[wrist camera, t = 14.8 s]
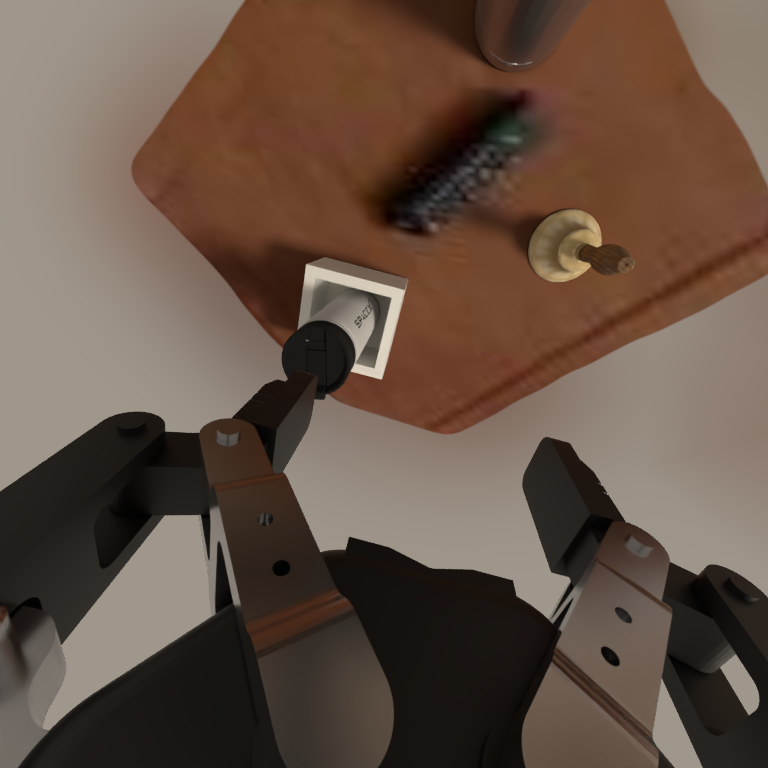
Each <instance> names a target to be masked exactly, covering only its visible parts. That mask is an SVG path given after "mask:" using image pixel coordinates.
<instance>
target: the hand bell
mask: <svg viewBox="0 0 768 768" xmlns="http://www.w3.org/2000/svg"><path fill="white" fill-rule="evenodd" d="M528 257H529V261H530V265H531V267H532V269H533V270H534V271H535V273H536V274H537V275H538V276H540V277H541V278H543V279H545V280H548V281H552V282H564V281H568V280H572V279H574V278H576V277H578V276H580V275H581V274H582V273H584V272H585V271H586V270H587V269H588V268H589V267H592V268H593V269H594V270H595V271H597V272H598V273H600V274H603V275H608V276H613V275H618V274H621V273H625V272H629V271H630V270H631V269H632V268H633V267H634V264H635V261H634V259H633V258H632V257H631V255H630V253H629V252H628V251H627V250H626V249H625V248H623V247H621V246H618V245H612V244H608V245H602V246H601V231H600V228H599V225H598V223H597V222H596V220H595V219H594V218H593V217H592V216H591V215H590V214H588V213H586V212H584V211H581V210H577V209H566V210H562V211H559V212H556V213H554V214H552V215H550V216H549V217H547V218H546V219H545V220H544V221H542V222H541V224H540V225H539V226H538V227H537V228H536V230H535V231H534V233H533V235H532V237H531V240H530V243H529V249H528Z"/></svg>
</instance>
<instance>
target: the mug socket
mask: <svg viewBox="0 0 768 768" xmlns="http://www.w3.org/2000/svg"><path fill="white" fill-rule="evenodd" d="M407 283H408V279H407V278H403V277H399V276H395V275H391V274H388V273H384V272H380V271H376V270H372V269H368V268H365V267H361V266H357V265H353V264H349V263H346V262H342V261H338V260H334V259H330V258H327V257H324V258H321V259H319V260H316V261H313V262H311V263H308V264H306V270H305V278H304V285H303V293H302V300H301V308H300V315H299V323H298V329H299V328H300V327H301V326H302V325H303V324H305V323H306V322H307V321H308V320H309V319H311V318H312V317H313V316H314V315H316V314H317V313H318V312H319V311H320V310H322V309H323V308H324V307H325V306H327V305H328V304H329V303H330V302H331V301H333V300H334V299H335V298H336V297H337V296H339V295H340V294H341V293H342V292H344V291H345V290H347V289H350V288H356V289H360V290H364V291H368V292H371V293H372V294H373V295H374V296H375V298H376V299H377V301H378V303H379V306H380V318H379V320H378V323H377V324H376V326H375V328H374V330H373V332H372V334H371V336H370V337H369V339H368V341H367V343H366V345H365V347H364V349H363V350H362V352H361V354H360V356H359V358H358V360H357V362H356V363H355V365H354V367H353V369H352V370H351V372H355V373H359V374H363V375H366V376H370V377H374V378H378V379H382V377H383V374H384V370H385V367H386V364H387V360H388V357H389V353H390V349H391V345H392V341H393V338H394V334H395V330H396V326H397V322H398V318H399V314H400V310H401V307H402V303H403V299H404V295H405V291H406V287H407Z"/></svg>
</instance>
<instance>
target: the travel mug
mask: <svg viewBox="0 0 768 768" xmlns="http://www.w3.org/2000/svg"><path fill="white" fill-rule="evenodd" d="M379 318H380V306H379V303H378V301H377V299H376V298H375V296H374V295H373V294H372V293H371V292H368V291H364V290H360V289H356V288H350V289H347V290H345V291H344V292H342V293H341V294H340V295H339V296H337V297H336V298H335V299H334V300H333V301H331V302H330V303H329V304H328V305H327V306H325V307H324V308H323V309H322V310H320V311H319V312H318V313H317V314H316V315H314V316H313V317H312V318H311V319H309V320H308V321H307V322H306V323H305V324H303V325H302V326H301V327H300V328H299V329H298V330H297V331H296V332H295V333H294V334H292V335H291V336H290V337H289V339H288V340H287V341H286V343H285V345H284V348H283V351H282V365H283V369H284V372H285V374H286V376H287V378H289V377H290V376H291V375H292V374H293V373H294V372H295V371H296V370H298V371H302V372H305V373H309V374H313V375H317V377H318V380H317V387H316V393H315V399H319V400H324V398H325V395H326V394H330V393H332V392H334V391H336V390H337V389H339V388H340V387H341V386H342V385H343V384H344V382H345V380H346V379H347V377H348V375H349V373H350V372H351V370H352V369H353V367H354V365H355V363H356V362H357V360H358V358H359V356H360V354H361V352H362V350H363V349H364V347H365V345H366V343H367V341H368V339H369V337H370V336H371V334H372V332H373V330H374V328H375V326H376V324H377V323H378V320H379Z"/></svg>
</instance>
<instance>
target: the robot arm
mask: <svg viewBox="0 0 768 768" xmlns="http://www.w3.org/2000/svg"><path fill="white" fill-rule="evenodd" d="M590 1H591V0H477V4H476V10H475V33H476V38H477V42H478V45H479V47H480V49H481V51H482V53H483V55H484V56H485V57H486V59H487V60H488V61H489V62H490V63H491V64H492V65H494V66H495V67H496V68H498V69H501V70H503V71H508V72H520V71H525V70H528V69H530V68H533V67H535V66H536V65H538V64H539V63H541V62H542V61H544V60H545V59H546V58H547V57H548V56H549V55H550V54H551V53H552V52H553V51H554V49H555V48H556V47H557V45H558V44H559V43H560V41H561V40H562V39H563V37H564V36H565V35H566V33H567V32H568V31H569V30H570V28H571V27H572V26H573V24H574V23H575V22H576V20H577V19H578V17H579V16H580V15H581V13H582V12H583V11H584V9H585V8H586V7H587V5H588V4H589V3H590ZM317 380H318V377H317V375H313V374H309V373H305V372H302V371H298V370H296V371H295V372H294V373H293V374H292V375H291V376H290V377H289V378H288V380H287V381H286V382H285V381H281V380H275V381H273V382H270V383H267V384H265V385H264V386H263V387H262V388H261V389H260V390H259V391H258V393H256V394H255V395H254V396H253V397H252V399H251V400H249V401H248V402H247V403H246V404H245V405H244V406H243V407H242V408H241V409H240V410H239V411H238V412H237V413H236V414H235V415H234V416H233V417H232V418H227V419H219V420H215V421H212V422H210V423H208V424H206V425H205V426H204V427H203V428H202V429H201V430H200V433H181V432H165V422H164V420H163V419H162V418H161V417H159V416H157V415H154V414H152V413H146V412H127V413H122V414H117V415H114V416H112V417H109V418H107V419H105V420H103V421H102V422H100V423H99V424H97V425H96V426H95V427H93V428H92V429H90V430H89V431H87V432H86V433H84V434H83V435H81V436H80V437H79V438H77V439H76V440H74V441H73V442H71V443H70V444H68V445H67V446H66V447H64V448H63V449H61V450H60V451H58V452H57V453H55V454H54V455H53V456H51V457H50V458H48V459H47V460H45V461H44V462H42V463H41V464H39V465H38V466H37V467H35V468H34V469H32V470H31V471H29V472H28V473H26V474H25V475H23V476H22V477H21V478H19V479H18V480H16V481H15V482H13V483H12V484H11V485H9V486H8V487H6V488H5V489H3V490H2V491H0V768H674V766H673V765H672V764H671V763H670V762H669V760H668V759H667V758H666V757H665V756H664V754H663V753H662V752H661V751H660V750H659V749H658V747H657V746H656V745H655V743H654V741H653V727H654V721H655V715H656V709H657V703H658V697H659V691H660V685H661V679H663V682H664V684H665V686H666V688H667V690H668V692H669V695H670V697H671V699H672V701H673V703H674V706H675V708H676V710H677V712H678V714H679V717H680V719H681V721H682V723H683V725H684V727H685V730H686V732H687V734H688V736H689V738H690V741H691V743H692V745H693V747H694V749H695V751H696V754H697V756H698V758H699V760H700V762H701V765H702V767H703V768H768V597H767V596H766V595H765V594H764V593H763V592H762V591H761V590H759V589H758V588H757V587H756V586H755V585H753V584H752V583H751V582H749V581H748V580H747V579H745V578H744V577H742V576H741V575H739V574H737V573H735V572H734V571H732V570H729V569H727V568H725V567H722V566H719V565H708V566H707V567H706V568H705V569H704V570H703V571H702V572H701V573H700V574H699V575H696V574H694V573H692V572H690V571H688V570H686V569H684V568H681V567H679V566H677V565H675V564H673V563H671V562H670V558H669V555H668V553H667V552H666V550H665V548H664V547H663V546H662V545H661V544H660V543H659V542H658V541H657V540H656V539H655V538H654V537H653V536H651V535H650V534H649V533H647V532H646V531H644V530H643V529H641V528H639V527H637V526H635V525H632V524H630V523H627V522H625V520H624V518H623V517H622V515H621V514H620V512H619V511H618V509H617V508H616V506H615V504H614V503H613V501H612V500H611V498H610V497H609V495H607V492H606V490H605V489H604V487H603V486H601V483H600V481H599V479H598V478H597V476H596V475H595V473H594V472H593V471H592V470H591V469H590V468H589V467H588V466H587V465H586V464H584V463H583V462H582V461H581V460H580V459H579V457H578V456H577V454H576V452H575V451H574V449H573V448H572V446H571V445H570V443H568V442H564V441H560V440H557V439H553V438H549V437H545V438H543V440H542V441H541V442H540V444H539V446H538V448H537V450H536V452H535V453H534V455H533V457H532V459H531V461H530V463H529V465H528V467H527V469H526V471H525V473H524V476H523V484H522V485H523V491H524V494H525V496H526V500H527V503H528V506H529V509H530V511H531V514H532V517H533V520H534V523H535V526H536V529H537V532H538V535H539V538H540V541H541V544H542V547H543V550H544V552H545V556H546V558H547V561H548V564H549V567H550V570H551V572H552V573H556V574H559V575H564V576H567V577H569V578H570V580H571V581H570V583H569V584H568V585H567V587H566V588H565V590H564V592H563V593H562V595H561V597H560V599H559V601H558V603H557V604H556V606H555V608H554V610H553V612H552V614H551V615H550V617H549V619H547V618H546V617H545V616H544V615H543V614H542V613H541V612H539V611H538V610H537V609H535V608H534V607H533V606H531V605H530V604H528V603H527V602H525V601H524V600H522V599H520V598H518V597H517V596H516V592H515V587H514V583H513V580H509V579H505V578H501V577H498V576H494V575H490V574H487V573H483V572H479V571H476V570H463V569H432V568H429V567H427V566H425V565H423V564H421V563H419V562H417V561H415V560H413V559H411V558H409V557H407V556H405V555H403V554H401V553H399V552H397V551H395V550H393V549H391V548H389V547H386V546H382V545H378V544H375V543H371V542H367V541H363V540H359V539H356V538H352V537H349V539H348V544H347V547H346V550H329V551H324V552H320V550H319V548H318V546H317V544H316V541H315V539H314V537H313V535H312V532H311V530H310V528H309V525H308V523H307V521H306V519H305V516H304V514H303V512H302V510H301V507H300V505H299V503H298V501H297V498H296V496H295V494H294V492H293V489H292V487H291V485H290V483H289V480H288V478H287V476H286V475H285V474H284V473H283V471H284V469H285V467H286V465H287V464H288V462H289V460H290V459H291V457H292V455H293V453H294V452H295V450H296V448H297V446H298V445H299V443H300V441H301V440H302V437H303V436H304V434H305V433H306V431H307V429H308V426H309V423H310V420H311V416H312V410H313V405H314V399H315V393H316V387H317ZM165 515H199V522H200V528H201V533H202V540H203V547H204V553H205V558H206V565H207V571H208V581H209V597H210V607H211V614H212V617H210V618H209V619H207V620H206V621H204V622H203V623H201V624H200V625H198V626H197V627H195V628H193V629H192V630H190V631H189V632H187V633H186V634H184V635H183V636H181V637H180V638H178V639H177V640H175V641H174V642H172V643H170V644H169V645H167V646H166V647H164V648H163V649H161V650H160V651H158V652H157V653H155V654H154V655H152V656H150V657H149V658H147V659H146V660H144V661H143V662H141V663H140V664H138V665H137V666H135V667H134V668H132V669H131V670H129V671H127V672H126V673H125V674H123V675H122V676H120V677H118V678H117V679H115V680H114V681H112V682H110V683H109V684H107V685H106V686H105V687H103V688H101V689H100V690H98V691H97V692H95V693H94V694H92V695H91V696H90V697H88V698H86V699H85V700H84V701H82V702H81V703H80V704H78V705H77V706H76V707H75V708H73V709H72V710H71V711H70V712H69V713H67V714H66V715H65V716H64V717H63V718H62V719H61V720H60V721H59V722H58V723H57V724H56V725H55V726H53V727H52V728H51V730H49V731H48V730H45V729H43V728H42V727H43V723H44V720H45V716H46V714H47V711H48V709H49V707H50V705H51V703H52V702H53V700H54V698H55V696H56V695H57V693H58V691H59V689H60V688H61V685H62V683H63V680H64V677H65V673H66V661H65V657H64V653H63V650H62V646H61V645H62V644H63V642H64V641H65V640H66V639H67V637H68V636H69V635H70V634H71V632H72V631H73V630H74V628H75V627H76V626H77V625H78V624H79V622H80V621H81V620H82V619H83V617H84V616H85V615H86V614H87V612H88V611H89V609H90V608H91V607H92V606H93V605H94V603H95V602H96V601H97V600H98V598H99V597H100V596H101V595H102V593H103V592H104V591H105V590H106V588H107V587H108V586H109V585H110V583H111V582H112V581H113V580H114V578H115V577H116V576H117V575H118V573H119V572H120V571H121V569H122V568H123V567H124V566H125V564H126V563H127V562H128V561H129V560H130V558H131V557H132V556H133V554H134V553H135V552H136V551H137V549H138V548H139V547H140V546H141V544H142V543H143V542H144V541H145V539H146V538H147V537H148V536H149V534H150V533H151V532H152V531H153V529H154V528H155V527H156V526H157V524H158V523H159V522H160V521H161V519H162V518H163V517H164V516H165ZM735 654H736V655H737V656H738V658H739V659H740V661H741V662H742V664H743V665H744V667H745V669H746V670H747V671H748V673H749V675H750V676H751V678H752V679H753V681H754V682H755V684H756V686H757V689H758V692H759V700H760V702H759V706H758V708H757V710H756V711H755V712H753V713H752V714H750V715H748V714H747V712H746V710H745V709H744V707H743V705H742V704H741V702H740V700H739V699H738V697H737V695H736V694H735V692H734V690H733V689H732V687H731V685H730V684H729V682H728V680H727V679H726V677H725V675H724V674H723V672H722V670H721V669H720V667H721V666H722V665H723V664H724V663H726V662H727V661H728V660H729V659H731V658H732V657H733V656H734V655H735Z"/></svg>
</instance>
